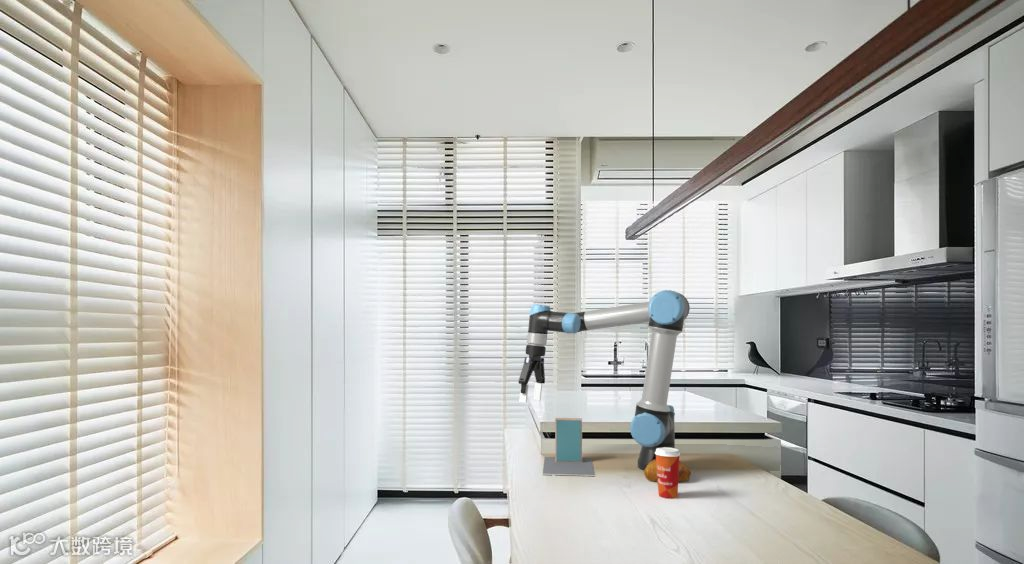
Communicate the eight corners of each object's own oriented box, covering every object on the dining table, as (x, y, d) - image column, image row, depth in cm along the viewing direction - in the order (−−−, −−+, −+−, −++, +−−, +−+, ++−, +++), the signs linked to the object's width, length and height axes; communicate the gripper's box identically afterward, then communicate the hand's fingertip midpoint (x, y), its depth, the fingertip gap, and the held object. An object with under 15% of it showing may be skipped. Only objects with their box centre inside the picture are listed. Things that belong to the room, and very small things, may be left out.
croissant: (693, 491, 194) (696, 467, 195) (646, 483, 195) (649, 459, 195) (682, 478, 209) (685, 456, 209) (638, 471, 209) (641, 449, 210)
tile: (555, 460, 224) (555, 417, 225) (581, 461, 224) (581, 418, 225) (555, 462, 222) (555, 418, 223) (582, 462, 221) (581, 419, 222)
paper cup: (649, 494, 183) (649, 448, 184) (669, 491, 186) (669, 446, 187) (666, 501, 176) (665, 453, 177) (686, 497, 179) (686, 451, 180)
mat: (544, 458, 231) (544, 456, 231) (591, 459, 229) (591, 457, 229) (542, 475, 205) (542, 473, 205) (595, 476, 203) (594, 474, 203)
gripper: (539, 344, 238) (533, 397, 236) (513, 343, 216) (507, 401, 214) (556, 346, 235) (550, 400, 233) (532, 345, 212) (525, 404, 211)
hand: (529, 401), depth 224 cm, fingers open, 13 cm apart
